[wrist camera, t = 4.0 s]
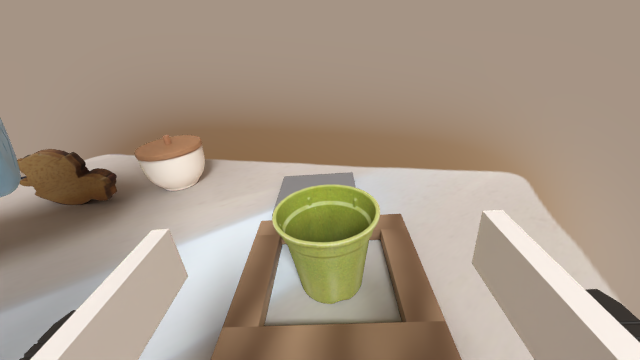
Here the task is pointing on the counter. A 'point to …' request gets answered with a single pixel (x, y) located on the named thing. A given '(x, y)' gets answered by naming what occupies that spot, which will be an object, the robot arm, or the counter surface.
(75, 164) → the wooden carving
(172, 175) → the lidded jar
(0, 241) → the counter surface
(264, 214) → the counter surface
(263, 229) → the walnut frame
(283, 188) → the charcoal mat
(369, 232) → the plant pot
